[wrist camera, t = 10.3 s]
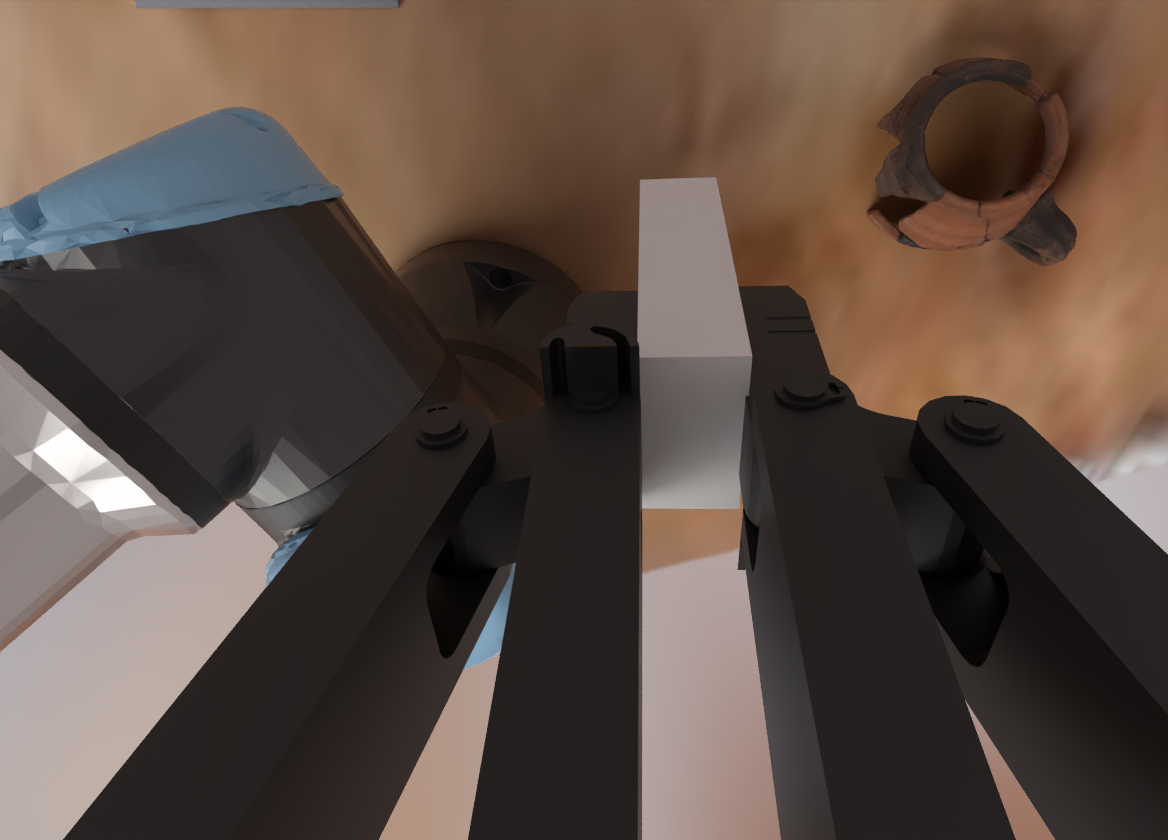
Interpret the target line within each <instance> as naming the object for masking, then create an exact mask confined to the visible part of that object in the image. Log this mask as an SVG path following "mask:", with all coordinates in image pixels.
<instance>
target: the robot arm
mask: <svg viewBox="0 0 1168 840" xmlns="http://www.w3.org/2000/svg"><path fill="white" fill-rule="evenodd" d="M342 196H343V193H342V191H341V190H340V189H339V188H338V187H337V186H336V185H333V184H330V183H329V182H328V180H327V179H326V178H325V177H324V176H323V174H322V173H321V172H320V171H319V170H318V168H317V167H316V166H315V165H314V164H313V162H312V161H311V160H310V159H309V158H308V156H307V155H306V154H305V153H304V151H303V150H302V149H301V148H300V146H299V145H298V144H297V142H296V141H295V140H294V139H293V137H292V136H291V135H290V134H289V132H288V131H287V130H286V129H285V128H284V127H283V126H282V125H281V124H280V123H279V122H278V121H276V120H275V119H274V118H272V117H271V116H269V115H267V114H265V113H263V112H261V111H258V110H255V109H250V108H244V107H231V108H225V109H221V110H217V111H214V112H211V113H209V114H206V115H203V116H200V117H198V118H195V119H193V120H190V121H188V122H185V123H183V124H180V125H178V126H175V127H173V128H171V129H168V130H166V131H164V132H161V133H159V134H157V135H154V136H152V137H150V138H147V139H145V140H143V141H140V142H138V143H136V144H134V145H131V146H129V147H127V148H125V149H123V150H120V151H118V152H116V153H114V154H111V155H109V156H107V157H105V158H103V159H101V160H99V161H96V162H94V163H92V164H90V165H88V166H86V167H84V168H81V169H79V170H77V171H75V172H73V173H71V174H69V175H67V176H65V177H63V178H61V179H59V180H57V181H55V182H53V183H51V184H49V185H47V186H45V187H43V188H41V189H40V190H39V191H38V192H35V193H32V194H29V195H27V196H26V197H24V198H22V199H20V200H18V201H16V202H14V203H13V204H11V205H9V206H6V207H3V208H0V652H1V651H2V650H3V649H4V648H6V647H7V646H8V645H9V644H10V643H11V642H12V641H13V640H15V639H16V638H17V637H18V636H19V635H20V634H21V633H23V632H24V631H25V630H26V629H27V628H28V627H30V626H31V625H32V624H33V623H34V622H35V621H36V620H37V619H39V618H40V617H41V616H42V615H43V614H44V613H46V612H47V611H48V610H49V609H50V608H51V607H52V606H54V605H55V604H56V603H57V602H58V601H59V600H60V599H62V598H63V597H64V596H65V595H66V594H67V593H68V592H69V591H70V590H72V589H73V588H74V587H75V586H76V585H77V584H79V583H80V582H81V581H82V580H83V579H84V578H85V577H87V576H88V575H89V574H90V573H91V572H92V571H94V570H95V569H96V568H97V567H98V566H99V565H100V564H102V563H103V562H104V561H105V560H106V559H107V558H108V557H110V556H111V555H112V554H113V553H114V552H115V551H116V550H118V549H119V548H120V547H121V546H122V545H123V544H124V543H125V542H127V541H130V540H133V539H136V538H139V537H143V536H160V535H161V536H162V535H184V534H195V533H197V532H198V531H200V530H201V529H202V528H204V526H206V525H207V524H208V523H209V522H210V521H211V520H212V519H213V518H214V517H216V516H217V515H218V514H219V513H220V512H221V511H222V510H223V509H225V508H226V507H227V506H228V505H229V504H230V503H231V502H235V503H236V505H237V506H239V507H240V508H241V509H242V510H243V511H244V512H245V513H246V514H247V515H248V516H250V517H251V518H252V519H253V520H254V521H255V522H256V523H257V524H258V525H259V526H260V527H261V528H262V529H263V530H264V531H265V532H266V533H267V534H269V535H270V537H271V538H272V539H274V540H275V542H276V543H277V544H278V546H279V547H278V549H277V550H276V551H275V552H274V553H273V554H272V556H271V558H270V560H269V562H268V564H267V568H266V574H267V579H266V588H265V589H264V591H263V592H262V593H261V594H260V596H259V597H258V598H257V599H256V601H255V602H254V603H253V604H252V606H251V607H250V608H249V609H248V611H247V612H246V613H245V614H244V616H243V617H242V618H241V619H240V621H239V622H238V623H237V624H236V626H235V627H234V628H233V629H232V631H231V632H230V633H229V634H228V635H227V637H226V638H225V639H224V641H223V642H222V643H221V644H220V645H219V647H218V648H217V650H215V652H214V653H213V654H212V655H211V657H210V658H209V659H208V660H207V662H206V663H205V664H204V665H203V666H202V668H201V669H200V670H199V671H198V673H197V674H196V675H195V677H194V678H193V679H192V680H191V681H190V683H189V684H188V685H187V687H186V688H185V689H184V690H183V691H182V693H181V694H180V695H179V696H178V698H177V699H176V700H175V702H174V703H173V704H172V705H171V706H170V707H169V709H168V710H167V711H166V712H165V714H164V715H163V716H162V717H161V719H160V720H159V721H158V722H157V724H156V725H155V726H154V728H153V729H152V730H151V731H150V732H149V734H148V735H147V736H146V737H145V739H144V740H143V741H142V742H141V743H140V745H139V746H138V747H137V748H136V750H135V751H134V752H133V754H132V755H131V756H130V757H129V758H128V760H127V761H126V762H125V763H124V765H123V766H122V767H121V768H120V770H119V771H118V772H117V773H116V775H115V776H114V777H113V778H112V780H111V781H110V782H109V783H108V784H107V786H106V787H105V788H104V789H103V791H102V792H101V793H100V794H99V796H98V797H97V798H96V800H95V801H94V802H93V803H92V805H91V806H90V807H89V808H88V809H87V811H86V812H85V813H84V815H83V816H82V817H81V818H80V819H79V820H78V822H77V823H76V824H75V825H74V827H73V828H72V829H71V830H70V832H69V833H68V834H67V835H66V837H65V838H64V839H63V840H379V838H380V836H381V834H382V832H383V830H384V828H385V826H386V824H387V822H388V820H389V818H390V816H391V813H392V812H393V810H394V808H395V805H396V804H397V802H398V800H399V798H400V796H401V794H402V791H403V789H404V787H405V786H406V784H407V782H408V780H409V778H410V775H411V773H412V771H413V769H414V767H415V765H416V763H417V761H418V759H419V757H420V755H421V753H422V751H423V749H424V747H425V745H426V743H427V741H428V739H429V737H430V735H431V733H432V731H433V729H434V727H435V725H436V723H437V721H438V719H439V717H440V715H441V713H442V711H443V709H444V707H445V705H446V703H447V701H448V699H449V697H450V695H451V693H452V691H453V689H454V687H455V685H456V683H457V681H458V679H459V677H460V675H461V673H462V671H463V669H464V668H468V667H471V666H474V665H477V664H480V663H482V662H485V661H487V660H489V659H490V658H492V657H494V656H496V655H497V654H499V653H500V658H499V664H498V670H497V675H496V681H495V687H494V693H493V699H492V704H491V710H490V716H489V721H488V727H487V733H486V739H485V745H484V750H483V756H482V762H481V768H480V773H479V779H478V785H477V791H476V796H475V802H474V808H473V813H472V819H471V826H470V831H469V837H468V840H642V508H653V509H739V502H740V491H741V493H742V500H743V507H744V508H743V518H742V529H741V540H740V551H739V562H738V570H745V569H746V575H747V582H748V590H749V598H750V605H751V613H752V621H753V628H754V636H755V644H756V651H757V658H758V666H759V673H760V681H761V689H762V697H763V705H764V712H765V720H766V727H767V735H768V743H769V750H770V757H771V765H772V773H773V780H774V788H775V795H776V803H777V811H778V818H779V826H780V834H781V840H1016V839H1015V836H1014V834H1013V831H1012V828H1011V826H1010V823H1009V820H1008V817H1007V814H1006V812H1005V809H1004V806H1003V804H1002V801H1001V798H1000V795H999V792H998V790H997V787H996V784H995V782H994V779H993V776H992V773H991V770H990V768H989V765H988V762H987V759H986V757H985V754H984V751H983V749H982V746H981V743H980V740H979V737H978V735H977V732H976V729H975V726H974V724H973V721H972V718H971V715H970V713H969V710H968V707H967V705H966V702H965V700H966V701H967V703H968V704H969V706H970V708H971V709H972V711H973V712H974V714H975V715H976V717H977V719H978V720H979V722H980V723H981V725H982V726H983V728H984V729H985V730H986V733H987V734H988V736H989V737H990V739H991V740H992V742H993V743H994V745H995V746H996V748H997V750H998V751H999V753H1000V754H1001V756H1002V757H1003V759H1004V760H1005V762H1006V763H1007V765H1008V767H1009V768H1010V770H1011V771H1012V772H1013V774H1014V776H1015V777H1016V779H1017V780H1018V782H1019V784H1020V785H1021V787H1022V788H1023V790H1024V791H1025V793H1026V794H1027V796H1028V798H1029V799H1030V801H1031V802H1032V804H1033V805H1034V807H1035V809H1036V810H1037V811H1038V813H1039V815H1040V816H1041V818H1042V819H1043V821H1044V822H1045V824H1046V826H1047V827H1048V829H1049V830H1050V832H1051V833H1052V835H1053V836H1054V838H1055V840H1168V554H1167V553H1166V552H1164V551H1163V550H1162V549H1161V548H1160V547H1159V546H1158V545H1157V544H1156V543H1155V542H1154V541H1153V540H1152V539H1151V538H1149V536H1147V535H1146V534H1145V533H1144V532H1143V531H1142V530H1141V529H1140V528H1139V527H1138V526H1137V525H1136V524H1135V523H1134V522H1132V521H1131V520H1130V519H1129V518H1128V517H1127V516H1126V515H1125V514H1124V513H1123V512H1122V511H1121V510H1120V509H1119V508H1117V506H1115V505H1114V504H1113V503H1112V502H1111V501H1110V500H1109V499H1108V498H1107V497H1106V496H1105V495H1104V494H1103V493H1102V492H1101V491H1099V490H1098V489H1097V488H1096V487H1095V486H1094V485H1093V484H1092V483H1091V482H1090V481H1089V480H1088V479H1087V478H1086V477H1085V476H1084V475H1083V474H1081V473H1080V472H1079V471H1078V470H1077V469H1076V468H1075V467H1074V466H1073V465H1072V464H1071V463H1070V462H1069V461H1068V460H1067V459H1066V458H1064V457H1063V456H1062V455H1061V454H1060V453H1059V452H1058V451H1057V450H1056V449H1055V448H1054V447H1053V446H1052V445H1051V444H1050V443H1049V442H1047V441H1046V440H1045V439H1044V438H1043V437H1042V436H1041V435H1040V434H1039V433H1038V432H1037V431H1036V430H1035V429H1034V428H1033V427H1031V426H1030V425H1029V424H1028V423H1027V422H1026V421H1025V420H1024V419H1023V418H1022V417H1020V416H1019V415H1017V414H1016V413H1014V412H1013V411H1012V410H1010V409H1009V408H1007V407H1005V406H1003V405H1000V404H997V403H995V402H992V401H990V400H987V399H983V398H978V397H977V398H976V397H972V396H944V397H941V398H938V399H934V400H931V401H929V402H928V403H926V404H925V405H924V406H923V407H922V408H921V409H920V410H919V413H918V417H917V421H915V420H910V419H905V418H900V417H894V416H889V415H884V414H881V413H877V412H873V411H870V410H867V409H865V408H862V407H860V406H858V405H857V402H856V399H855V396H854V394H853V393H852V391H851V390H850V389H849V387H848V386H847V385H846V384H845V383H844V382H842V381H840V380H839V379H837V378H836V377H834V376H833V375H830V372H829V369H828V366H827V363H826V360H825V357H824V354H823V351H822V348H821V345H820V342H819V339H818V337H817V334H815V328H814V325H813V322H812V320H811V316H810V313H809V310H808V307H807V304H806V301H805V299H803V298H802V297H801V296H800V295H798V294H797V293H796V292H795V291H794V290H792V289H791V288H790V287H789V286H746V287H738V283H737V278H736V273H735V268H734V263H733V258H732V253H731V248H730V243H729V238H728V234H727V229H726V224H725V219H724V214H723V209H722V204H721V199H720V194H719V189H718V184H717V179H716V177H707V178H677V179H646V180H640V213H639V271H638V291H607V292H581V291H580V290H579V289H578V287H577V286H576V285H575V284H574V283H573V282H572V281H571V280H570V279H569V278H568V277H567V276H566V275H565V274H564V273H563V272H561V271H560V270H559V269H557V268H556V267H555V266H553V265H552V264H550V263H549V262H547V261H546V260H544V259H542V258H540V257H538V256H536V255H534V254H532V253H530V252H528V251H525V250H523V249H520V248H517V247H514V246H510V245H507V244H502V243H497V242H489V241H461V242H454V243H449V244H445V245H441V246H438V247H435V248H432V249H430V250H428V251H425V252H423V253H422V254H420V255H418V256H416V257H415V258H413V259H412V260H410V261H409V262H408V263H406V264H405V265H404V266H403V267H402V268H401V269H400V270H399V271H398V272H397V273H396V274H395V272H394V271H393V270H392V268H391V267H390V265H389V264H388V262H387V261H386V260H385V258H384V257H383V255H382V254H381V253H380V251H379V250H378V248H377V247H376V246H375V244H374V243H373V241H372V240H371V239H370V237H369V236H368V234H367V233H366V232H365V230H364V229H363V227H362V226H361V224H360V223H359V222H358V220H357V219H356V217H355V216H354V215H353V213H352V212H351V210H350V209H349V208H348V206H347V205H346V203H345V202H344V201H343V199H342V198H341V197H342ZM964 698H965V699H964Z"/></svg>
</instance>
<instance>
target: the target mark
mask: <svg viewBox="0 0 1168 840" xmlns="http://www.w3.org/2000/svg"><path fill="white" fill-rule="evenodd" d="M134 1H135V4H136V7H137V8H399V0H134Z"/></svg>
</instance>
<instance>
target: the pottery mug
mask: <svg viewBox="0 0 1168 840" xmlns="http://www.w3.org/2000/svg"><path fill="white" fill-rule="evenodd" d="M983 80H992V81H999V82H1004V83H1006V84H1007V85H1009V86H1010V87H1012V88H1014V89H1015V90H1017V91H1019V92H1021V93H1022V94H1024V95H1027V96H1030V97H1031V98H1032V99H1033V100H1034V102H1035V103H1036V106H1037V108H1038V110H1039V112H1040V114H1041V117H1042V119H1043V122H1044V127H1045V133H1046V143H1045V151H1044V155H1043V158H1042V161H1041V164H1040V166H1039V167H1038V169H1037V170H1036V172H1035V174H1034V176H1033V177H1032V179H1031V180H1030V181H1029V182H1028V183H1027V184H1025V185H1024V186H1023V187H1022V188H1021V189H1019V190H1018V191H1014V190H1008V191H1007V192H1006V193H1005V194H1004V195H1003V197H1002V198H1000V199H996V200H989V201H978V200H972V199H967V198H964V197H961V196H959V195H957V194H955V193H953V192H951V191H950V190H948V189H945V188H944V187H943V186H942V185H941V183H940V182H939V181H938V180H937V179H936V177H935V176H934V175H933V173H932V171H931V169H930V167H929V165H928V162H927V157H926V154H925V143H924V142H925V129H926V126H927V124H928V121H929V118H930V117H931V115H932V113H933V111H934V109H935V108H936V106H937V105H938V104H939V102H940V101H941V100H942V99H943V98H944V97H945V96H947V95H948V94H949V93H950V92H952V91H953V90H955V89H957V88H959V87H961V86H962V85H966V84H969V83H971V82H977V81H983ZM877 127H878V128H880V129H884V130H886V131H887V132H888V133H890V134H892V135H893V136H894V137H896V138H897V139H898V140H899V141H900V145H899V146H898V147H896V148H895V149H893V150H892V151H890V153H889V155H888V156H887V157H886V159H885V161H884V163H883V167H882V170H881V171H880V172H879V174H878V175H877V176H876V179H875V182H876V187H877V191H878V194H879V195H880V196H881V197H885V196H890V195H895V196H898V197H902V198H912V199H916V200H921V201H925V202H926V203H925V204H924V205H923V206H922V207H920V208H919V209H918V210H917V211H915V212H914V213H912V214H910V215H907V216H905V217H903V218H901V219H900V221H899V225H898V226H899V229H897V228H896V227H895V226H893V225H892V224H891V223H890V222H889V221H888V220H887V219H886V218H885V217H884V215H883V214H882V213H881V212H880V211H879V210H877V209H876V210H873V209H870V210H869V211H867V216H868V218H869V219H870V220H871V221H872V222H873V223H874V224H875V225H876V226H877V227H878V228H879V229H881V230H882V231H884V232H885V233H886V234H887V235H888V236H889V237H891V238H893V239H896V240H897V241H898V242H900V243H902V244H905V245H909V246H911V247H918V248H922V249H930V250H940V251H946V250H962V249H968V248H973V247H977V246H981V245H983V244H984V243H985V241H990V240H994V239H1000V240H1002V241H1004V242H1005V243H1006V244H1007V245H1009V246H1010V247H1012V248H1013V249H1014V250H1015V251H1017V252H1018V253H1019V254H1021V255H1022V256H1024V257H1025V258H1027V259H1028V260H1030V261H1032V262H1034V263H1036V264H1038V265H1041V266H1047V265H1051V264H1055V263H1057V262H1059V261H1062V260H1064V259H1065V258H1066V257H1067V255H1068V253H1069V252H1070V251H1071V250H1072V249H1073V248H1074V246H1075V242H1076V237H1077V231H1076V228H1075V226H1074V225H1073V223H1072V222H1071V220H1070V219H1069V217H1068V216H1067V215H1066V214H1065V213H1063V212H1062V211H1061V210H1060V209H1059V208H1058V206H1057V205H1056V203H1055V201H1054V197H1053V189H1052V188H1051V187H1050V185H1051V184H1052V183H1053V181H1054V180H1055V178H1056V176H1057V175H1058V173H1059V170H1060V168H1061V167H1062V165H1063V161H1064V159H1065V156H1066V152H1067V149H1068V143H1069V138H1070V136H1069V121H1068V113H1067V111H1066V108H1065V106H1064V103H1063V101H1062V99H1061V97H1060V95H1059V94H1058V93H1057V92H1054V93H1051V94H1047V93H1046V92H1045V91H1044V89H1043V87H1042V86H1041V85H1040V83H1039V82H1038V81H1037V80H1035V79H1034V78H1033V77H1032V75H1031V71H1030V68H1029V66H1028V65H1026V64H1023V63H1020V62H1016V61H1011V60H1002V59H994V58H969V59H963V60H958V61H954V62H952V63H949V64H946V65H943V66H940V67H938V68H936V69H935V70H934V71H933V75H931V76H925V77H923V78H921V79H920V80H919V81H918V82H917V83H916V84H915V85H914V86H913V87H912V88H911V89H910V91H909V92H908V93H907V94H906V95H905V97H904V98H903V99H902V100H901V101H900V102H899V103H898V104H897V105H896V107H894V108H893V109H892V111H891V112H889V113H888V114H886V115H885V116H884V117H883V118H882V120H881V121H880V122H879V123H878V124H877Z"/></svg>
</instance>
